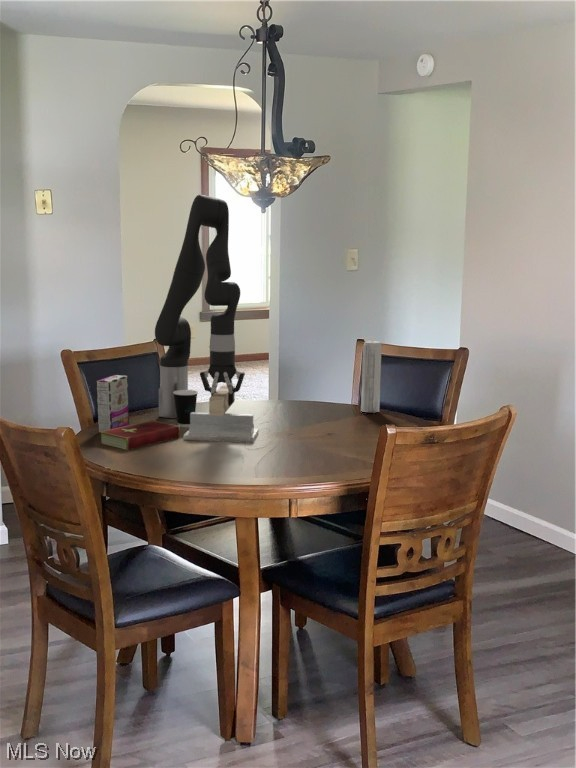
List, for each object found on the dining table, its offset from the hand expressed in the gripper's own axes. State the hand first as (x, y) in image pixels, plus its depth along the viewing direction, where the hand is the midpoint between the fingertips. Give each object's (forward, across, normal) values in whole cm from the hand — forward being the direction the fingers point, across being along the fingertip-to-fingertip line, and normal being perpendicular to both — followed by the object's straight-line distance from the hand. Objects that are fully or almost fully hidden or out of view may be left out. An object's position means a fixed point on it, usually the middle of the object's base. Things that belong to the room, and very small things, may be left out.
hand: (222, 404), depth 255 cm
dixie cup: (+10, +14, -13) cm, 22 cm away
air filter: (+10, -45, -45) cm, 64 cm away
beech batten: (+1, 0, 0) cm, 1 cm away
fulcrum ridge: (+10, 0, 0) cm, 10 cm away
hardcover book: (+10, +23, +9) cm, 27 cm away
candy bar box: (+10, +35, -4) cm, 37 cm away
